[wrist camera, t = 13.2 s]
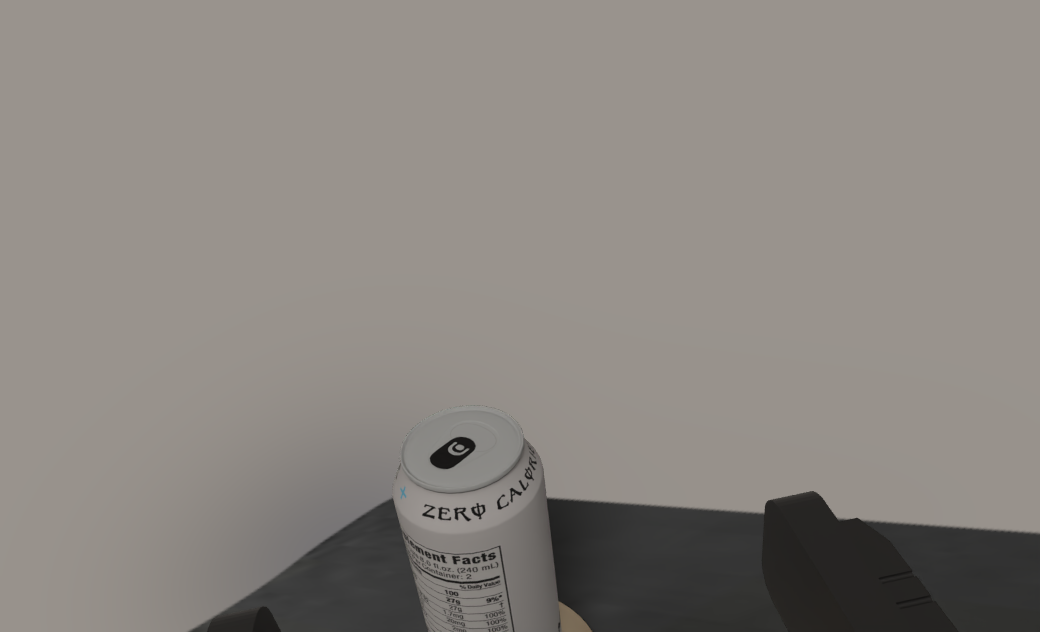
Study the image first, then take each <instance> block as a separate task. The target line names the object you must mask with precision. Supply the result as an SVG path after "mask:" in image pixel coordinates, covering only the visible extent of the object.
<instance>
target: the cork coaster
mask: <svg viewBox="0 0 1040 632" xmlns="http://www.w3.org/2000/svg"><path fill="white" fill-rule="evenodd" d="M558 603H559V611H560V620H561V629H562V632H592V631H591V629H590V628H589V626H588V625H587V624H586V623H585V621H584V620H583V619H582V618H581V617H580V616H579V615H578V614H576V613H575V612H574V611H573V610H572V609H570V608H569V607H567V606H566V605H564V604H563V603H561V602H559V601H558Z"/></svg>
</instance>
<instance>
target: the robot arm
mask: <svg viewBox="0 0 1040 632" xmlns="http://www.w3.org/2000/svg"><path fill="white" fill-rule="evenodd" d="M762 569H763V574H764V579H765V582H766V586H767V589H768V591H769V594H770V596H771V599H772V601H773V603H774V605H775V607H776V609H777V611H778V612H779V614H780V616H781V618H782V620H783V622H784V624H785V626H786V628H787V630H788V631H789V632H958V631H957V629H956V628H955V627H954V625H953V624H952V623H951V621H950V620H949V619H948V617H947V616H946V615H945V613H944V612H943V611H942V609H941V608H940V607H939V605H938V604H937V603H936V601H935V602H933V601H932V599H931V595H930V594H929V592H928V591H927V590H926V588H925V587H924V586H923V584H922V583H921V582H920V580H919V579H918V578H917V576H915V577H914V575H913V574H912V570H911V568H910V567H909V566H908V564H907V563H906V562H905V560H904V559H903V558H902V557H901V555H900V554H899V553H898V551H897V550H896V549H895V547H894V546H893V545H892V543H891V542H890V541H889V540H888V539H886V538H885V537H884V536H882V535H881V534H879V533H878V532H877V531H875V530H874V529H872V528H871V527H870V526H868V525H867V524H865V523H864V522H863V521H861V520H860V519H858V518H854V519H850V520H845V521H841V522H839V521H838V520H837V518H836V517H835V515H834V514H833V512H832V511H831V510H830V508H829V507H828V505H827V504H826V502H825V501H824V500H823V498H822V497H821V496H820V495H819V494H817V493H816V492H814V491H810V492H806V493H801V494H797V495H792V496H788V497H782V498H778V499H773V500H769V501H767V503H766V505H765V514H764V532H763V550H762ZM207 632H281V631H280V629H279V627H278V625H277V623H276V621H275V619H274V617H273V615H272V613H271V612H270V610H269V609H268V608H267V607H259V608H254V609H249V610H245V611H240V612H235V613H230V614H226V615H221V616H217V617H215V618H214V619H213V620H212V621H211V623H210V625H209V628H208V631H207Z"/></svg>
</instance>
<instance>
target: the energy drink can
mask: <svg viewBox="0 0 1040 632" xmlns="http://www.w3.org/2000/svg"><path fill="white" fill-rule="evenodd" d="M400 462H401V463H400V466H399V468H398V470H397V472H396V475H395V479H394V483H393V500H394V503H395V507H396V511H397V515H398V519H399V522H400V526H401V530H402V534H403V538H404V541H405V545H406V549H407V553H408V557H409V560H410V564H411V568H412V572H413V576H414V579H415V583H416V587H417V591H418V595H419V598H420V602H421V606H422V610H423V614H424V617H425V621H426V625H427V629H428V632H562V629H561V620H560V611H559V603H558V594H557V585H556V576H555V568H554V559H553V550H552V541H551V533H550V524H549V515H548V506H547V498H546V489H545V480H544V471H543V466H542V462H541V459H540V457H539V455H538V453H537V452H536V450H535V449H534V447H533V446H531V444H530V443H529V442H528V441H527V440H526V439H525V438H524V436H523V432H522V429H521V427H520V426H519V424H518V422H517V421H516V420H515V419H514V418H513V417H512V416H510V415H508V414H507V413H505V412H503V411H501V410H498V409H495V408H491V407H487V406H475V405H471V406H460V407H454V408H450V409H447V410H443V411H440V412H438V413H435V414H433V415H431V416H429V417H427V418H426V419H424V420H422V421H421V422H419V423H418V424H417V425H416V426H415V427H413V428H412V430H411V431H410V432H409V433H408V434H407V435H406V437H405V439H404V441H403V442H402V445H401V449H400Z"/></svg>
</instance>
